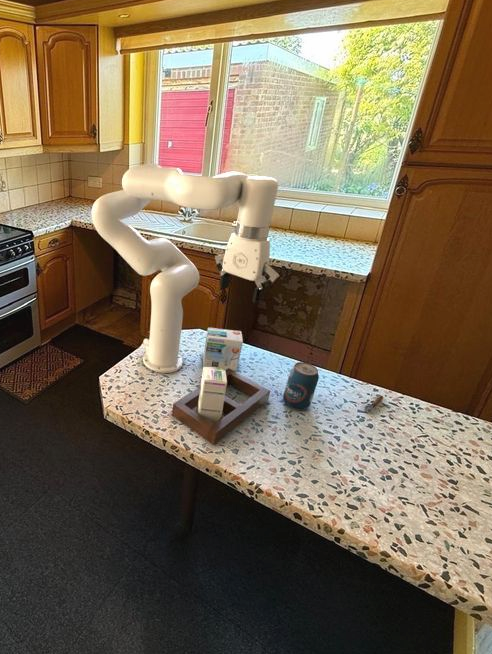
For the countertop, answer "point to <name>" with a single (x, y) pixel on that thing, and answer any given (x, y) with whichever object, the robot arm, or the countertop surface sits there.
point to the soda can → (301, 386)
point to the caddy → (230, 408)
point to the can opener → (374, 403)
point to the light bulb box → (222, 348)
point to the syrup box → (212, 394)
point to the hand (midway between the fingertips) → (239, 294)
